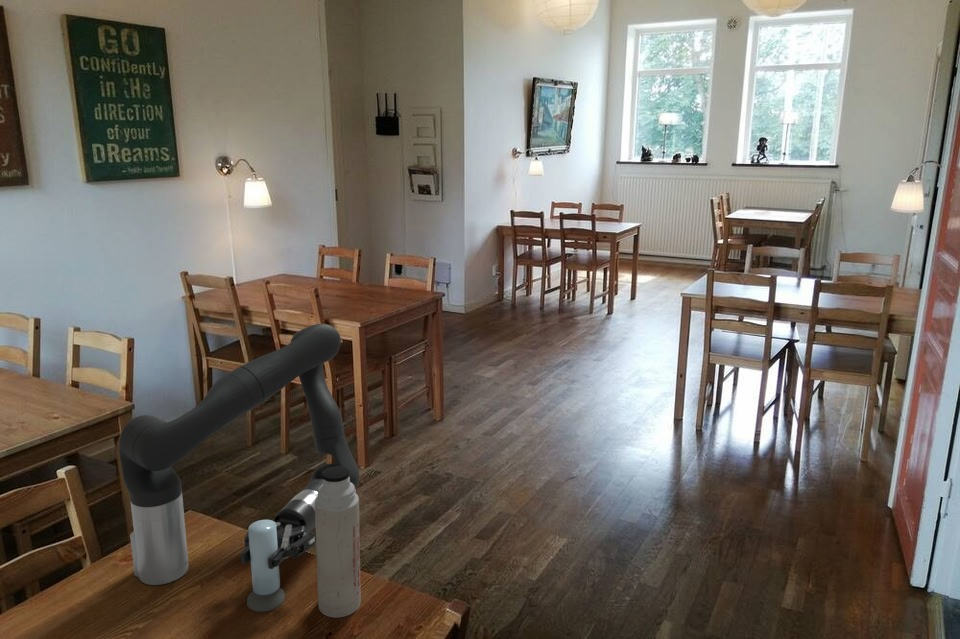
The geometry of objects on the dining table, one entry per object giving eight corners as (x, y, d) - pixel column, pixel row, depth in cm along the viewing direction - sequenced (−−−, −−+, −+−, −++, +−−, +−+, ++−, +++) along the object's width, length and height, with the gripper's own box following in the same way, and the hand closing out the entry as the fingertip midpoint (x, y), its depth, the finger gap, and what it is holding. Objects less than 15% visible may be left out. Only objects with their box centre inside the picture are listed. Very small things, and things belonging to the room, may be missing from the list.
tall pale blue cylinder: (247, 592, 128) (242, 532, 125) (261, 576, 133) (257, 517, 130) (271, 597, 127) (267, 536, 124) (284, 580, 132) (281, 521, 129)
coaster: (239, 608, 128) (239, 605, 128) (259, 585, 135) (259, 583, 135) (272, 615, 127) (272, 612, 126) (291, 592, 133) (291, 589, 133)
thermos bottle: (366, 594, 133) (364, 464, 126) (351, 620, 126) (348, 484, 119) (328, 587, 135) (324, 459, 128) (311, 614, 127) (306, 478, 120)
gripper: (269, 493, 142) (220, 538, 126) (332, 503, 139) (290, 551, 123) (271, 525, 144) (223, 573, 128) (333, 536, 141) (292, 586, 125)
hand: (256, 562), depth 126 cm, fingers closed on tall pale blue cylinder, 5 cm apart
